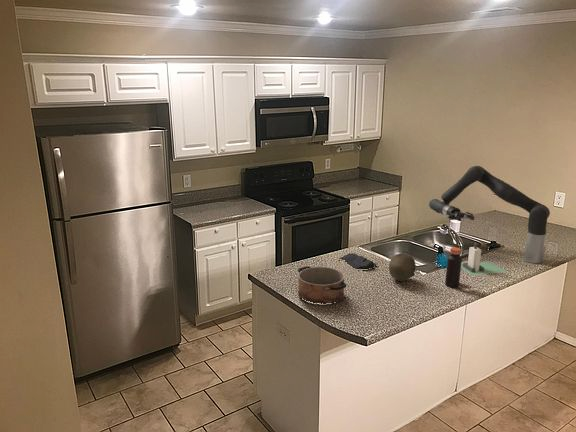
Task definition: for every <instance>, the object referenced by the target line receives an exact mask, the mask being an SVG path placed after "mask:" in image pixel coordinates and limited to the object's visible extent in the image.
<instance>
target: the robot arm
mask: <svg viewBox="0 0 576 432" xmlns="http://www.w3.org/2000/svg"><path fill="white" fill-rule="evenodd" d="M475 182H479V183H481V184H482V185H484V186H485V187H487V188H488V189H489V190H490V191H491V192H492V193H493V194H494V195H496V196H497V197H498V198H499V199H501V200H502V201H504V202H506V203H508V204H510V205H513V206H516V207H518V208H520V209H522V210H525V211H526V212H527V213H529V215H528V221H527V235H526V240H525V241H526V243H525V248H524V253H523V254H524V256H523V260H524V261H525V262H527V263H530V264H541V263H542V262H544V258H545V251H546V246H545V241H546V235H547V223H548V218H549V217H550V215H551V211H550V209H549V208H548V207H547V205H545V204H543V203H540V202H538V201H537V200H534V199H532V198H530V197H528V196H527V195H526V194H525V193H523V192H521V191H520V190H518V189H517V188H515V187H514V186H512V185H511V184H509V183H507V182H505V181H503V180H502V179H500V178H498V177H496V176H495V175H493V174H492V173H491V172H489V171H487V170H486V169H485V168H484V167H483V166H480V165H475V166H471V167H469V168H468V170H466V172H465V173H464V174H463V176H462V177H461V178H460V179H459V180H458V181H457V182H456V183H454V184H453V185H452V186H450V187H449V188H448V189H447V190H446V191H444V193H442V194H441V197H440V198H441V199H442V201H441V200H439V199H437V198H434V199H431V200H430V201H429V204H428V206H429V209H431V210H433V211H434V212H436V213H437V214H441V215H443V216H444V217H446V218H447V219H448V220H451V221H458V222H462V219H463V220H466V219H469V220H471V221H474V220H475V216H474V214H473V213H471V212H468V211H465V212H463V211H462V210H461V209H460V208H458V207H456V206H453V205H451V204H450V203H452V202H453V201H454V200H455V199H456V198H457V197H459V196H460V195H461V193H462V192H464V190H465V189H466V188H468V187H469V186H470V185H472V184H474V183H475Z"/></svg>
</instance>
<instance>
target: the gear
mask: <svg viewBox="0 0 576 432" xmlns="http://www.w3.org/2000/svg"><path fill="white" fill-rule="evenodd" d="M448 257H449V255H448V254H445V253H441V254H440V253H439V254H438V256H436V261H435V262H436V263H437V266H438V267H440V266H441V267H440V268H441V269H444V267H445V269H447V260H448Z"/></svg>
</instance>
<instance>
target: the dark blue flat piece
mask: <svg viewBox="0 0 576 432" xmlns="http://www.w3.org/2000/svg"><path fill="white" fill-rule="evenodd" d="M339 259H342V260H345V262H347V264H349V265H350V266H352V267H353V268H355V269H369V268H373V267H374V266H376V265H378V264H377V263H375V262H374V261H372V260H371V259H368V258H367V257H364V256H363V255H358V254H356V253H347V254H345V255H343V256H341V257H339ZM373 269H374V268H373Z"/></svg>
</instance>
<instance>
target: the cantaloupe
mask: <svg viewBox="0 0 576 432" xmlns="http://www.w3.org/2000/svg"><path fill="white" fill-rule="evenodd" d="M416 266H417V265H416V262H415V259H414V257H412V256H411V255H410V254H407V253H404V252H399V253H396V254H395V255H393V256H392V257H391V259H390V261H389V263H388V271H389V274H390V276H391V277H392V278H393V279H394V280H395V281H399V282H404V281H408V280H410V279H411V278H412V277H413V275H414V274H415V272H416Z"/></svg>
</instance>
